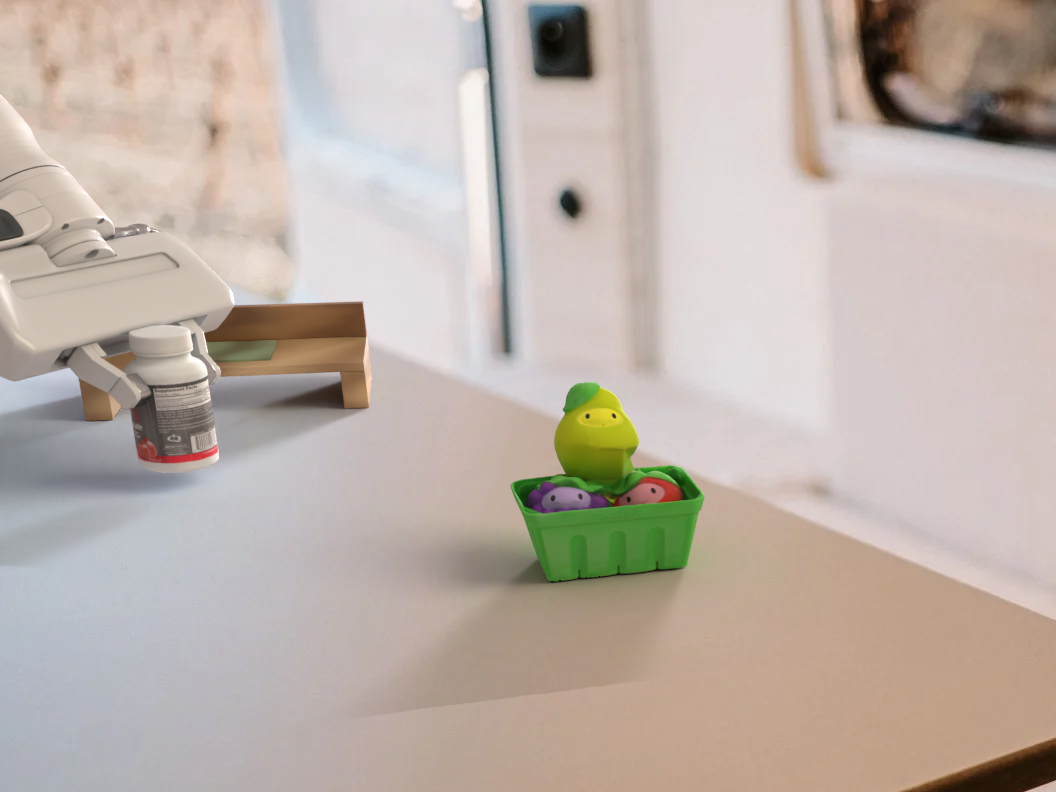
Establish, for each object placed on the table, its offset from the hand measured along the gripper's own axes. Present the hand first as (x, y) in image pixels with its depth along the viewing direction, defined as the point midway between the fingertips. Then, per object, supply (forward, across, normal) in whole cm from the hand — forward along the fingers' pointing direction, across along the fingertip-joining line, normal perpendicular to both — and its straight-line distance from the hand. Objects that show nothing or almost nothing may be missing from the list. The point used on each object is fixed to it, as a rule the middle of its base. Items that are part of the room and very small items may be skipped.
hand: (175, 392), depth 115 cm
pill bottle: (+4, 0, -4) cm, 6 cm away
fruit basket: (+30, +2, +21) cm, 37 cm away
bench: (-5, -21, -15) cm, 26 cm away
